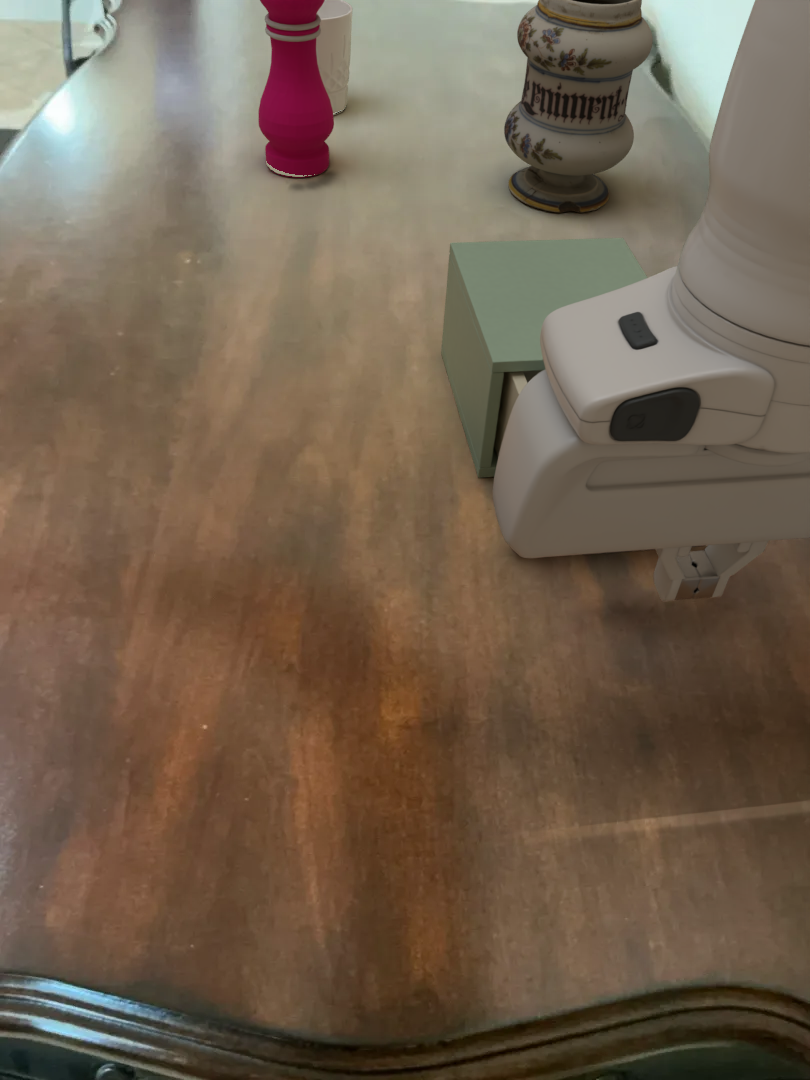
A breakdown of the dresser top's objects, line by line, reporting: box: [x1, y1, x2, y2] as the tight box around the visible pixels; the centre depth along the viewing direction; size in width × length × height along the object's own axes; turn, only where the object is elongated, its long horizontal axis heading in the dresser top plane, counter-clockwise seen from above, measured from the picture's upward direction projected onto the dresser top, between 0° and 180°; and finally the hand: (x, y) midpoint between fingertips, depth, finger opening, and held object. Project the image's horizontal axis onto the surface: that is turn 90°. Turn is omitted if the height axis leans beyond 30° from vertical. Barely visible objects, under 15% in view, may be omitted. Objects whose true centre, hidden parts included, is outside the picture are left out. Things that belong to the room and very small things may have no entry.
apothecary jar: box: [503, 0, 654, 214], centre depth 89 cm, size 12×12×18 cm
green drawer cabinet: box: [440, 237, 649, 479], centre depth 67 cm, size 15×13×9 cm
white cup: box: [316, 0, 354, 116], centre depth 104 cm, size 8×8×10 cm
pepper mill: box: [258, 0, 335, 179], centre depth 90 cm, size 7×7×20 cm
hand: (685, 589), depth 48 cm, fingers closed
